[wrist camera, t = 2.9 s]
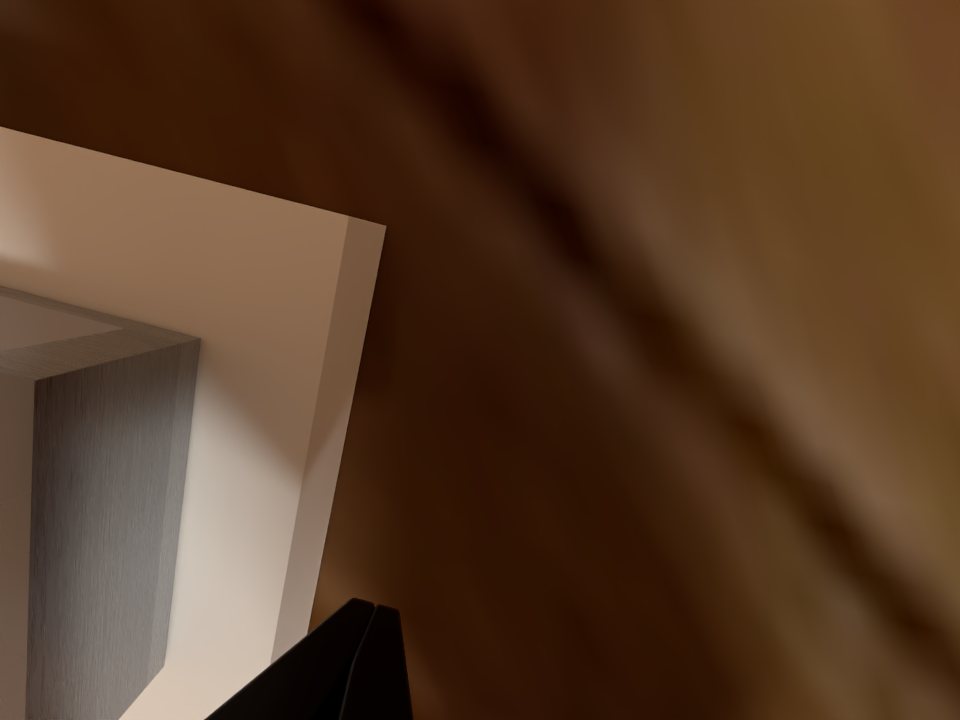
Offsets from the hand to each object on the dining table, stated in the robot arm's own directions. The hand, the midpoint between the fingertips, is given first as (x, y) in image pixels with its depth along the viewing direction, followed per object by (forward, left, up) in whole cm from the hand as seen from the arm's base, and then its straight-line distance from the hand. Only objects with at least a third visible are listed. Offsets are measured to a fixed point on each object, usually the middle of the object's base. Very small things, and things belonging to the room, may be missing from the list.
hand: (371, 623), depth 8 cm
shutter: (+8, 0, -1) cm, 8 cm away
